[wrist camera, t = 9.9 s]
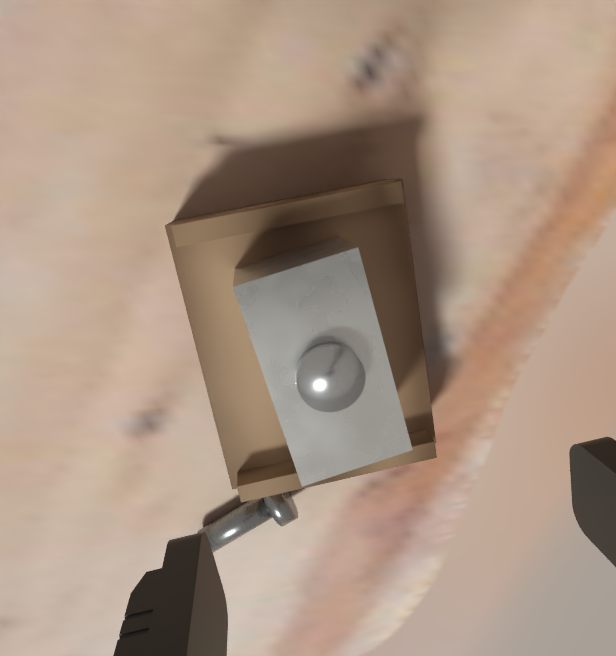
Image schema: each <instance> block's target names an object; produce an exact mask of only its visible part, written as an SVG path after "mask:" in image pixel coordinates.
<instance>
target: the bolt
mask: <svg viewBox="0 0 616 656" xmlns="http://www.w3.org/2000/svg"><path fill="white" fill-rule="evenodd" d="M272 517H273V518H274V520H275V521H276V522H277V523H278V524H279V525H280V526H284V525H286V524H288V523H290V522H291V521H293V520H295V519H296V518H298V512H297V508H296V506H295V503H294V501H293V499H292V497H291V495H290V493H289V492H285V493H281V494H276V495H272V496H268V497H263V498H259V499H255V500H250V501H248V502H246V503H244V504H242V505H241V506H239V507H237V508H236V509H234V510H232V511H231V512H229V513H227V514H226V515H224V516H222V517H221V518H219V519H217V520H215V521H214V522H212V523H210V524H209V525H207V526H205V527H204V528H202V529H200V530H199V531H198V533H202V532H205V533H206V535H207V537H208V539H209V543H210V546H211V549H212V553H213V552H215V551H216V550H218V549H220V548H221V547H223V546H225V545H227V544H228V543H230V542H232V541H233V540H235V539H237V538H238V537H240V536H242V535H244V534H245V533H247V532H249V531H250V530H252V529H254V528H255V527H257V526H259V525H261V524H262V523H264V522H266V521H267V520H269V519H271V518H272ZM198 533H197V534H198Z"/></svg>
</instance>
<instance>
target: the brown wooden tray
mask: <svg viewBox="0 0 616 656" xmlns="http://www.w3.org/2000/svg"><path fill="white" fill-rule="evenodd" d="M165 228H166V232H167V236H168V240H169V244H170V248H171V251H172V255H173V259H174V263H175V267H176V271H177V275H178V279H179V283H180V287H181V290H182V294H183V298H184V302H185V306H186V310H187V314H188V318H189V322H190V326H191V330H192V333H193V337H194V341H195V345H196V349H197V353H198V357H199V361H200V365H201V369H202V372H203V376H204V380H205V384H206V388H207V392H208V396H209V400H210V404H211V408H212V411H213V415H214V419H215V423H216V427H217V431H218V435H219V439H220V443H221V447H222V451H223V454H224V458H225V462H226V466H227V470H228V474H229V478H230V482H231V486H232V489H236V488H237V489H238V492H239V496H240V500H241V503H242V502H246V501H250V500H255V499H259V498H263V497H268V496H272V495H276V494H281V493H285V492H289V491H294V490H298V489H302V488H307V487H311V486H315V485H320V484H324V483H328V482H333V481H337V480H342V479H346V478H350V477H355V476H359V475H363V474H368V473H372V472H376V471H381V470H385V469H389V468H394V467H398V466H402V465H407V464H411V463H415V462H420V461H424V460H428V459H433V458H437V456H436V448H435V443H436V439H435V431H434V424H433V416H432V408H431V400H430V392H429V385H428V377H427V369H426V361H425V354H424V346H423V338H422V330H421V322H420V315H419V307H418V299H417V291H416V283H415V276H414V268H413V260H412V252H411V245H410V237H409V229H408V221H407V213H406V206H405V198H404V190H403V182H402V179H397V180H383V181H378V182H372V183H367V184H362V185H357V186H352V187H347V188H342V189H336V190H331V191H326V192H321V193H316V194H311V195H306V196H300V197H295V198H290V199H285V200H280V201H275V202H270V203H264V204H259V205H254V206H249V207H244V208H239V209H233V210H228V211H223V212H218V213H213V214H208V215H203V216H197V217H192V218H187V219H182V220H177V221H172V222H170V223H169V224H167V225H165ZM336 236H339V237H341V238H342V239H344V240H346V241H348V242H350V243H351V244H353V245H355V246H357V247H358V248H359V252H360V256H361V259H362V263H363V267H364V271H365V274H366V278H367V282H368V286H369V289H370V293H371V297H372V300H373V304H374V308H375V312H376V315H377V319H378V323H379V326H380V330H381V334H382V338H383V341H384V345H385V349H386V353H387V356H388V360H389V364H390V367H391V371H392V375H393V379H394V382H395V386H396V390H397V393H398V397H399V401H400V405H401V408H402V412H403V416H404V420H405V423H406V427H407V431H408V434H409V438H410V442H411V446H412V449H413V450H411V451H408V452H405V453H402V454H399V455H396V456H393V457H390V458H387V459H384V460H381V461H378V462H375V463H372V464H369V465H366V466H363V467H360V468H357V469H354V470H351V471H348V472H345V473H342V474H339V475H336V476H333V477H330V478H327V479H324V480H321V481H318V482H315V483H312V484H309V485H306V486H303V487H302V485H301V483H300V480H299V477H298V474H297V471H296V468H295V465H294V462H293V459H292V457H291V454H290V451H289V448H288V445H287V442H286V439H285V436H284V433H283V431H282V428H281V425H280V422H279V419H278V416H277V413H276V410H275V407H274V405H273V402H272V399H271V396H270V393H269V390H268V387H267V384H266V381H265V379H264V376H263V373H262V370H261V367H260V364H259V361H258V358H257V355H256V353H255V350H254V347H253V344H252V341H251V338H250V335H249V332H248V329H247V327H246V324H245V321H244V318H243V315H242V312H241V309H240V306H239V303H238V301H237V298H236V295H235V292H234V289H233V280H234V269H235V268H238V267H241V266H244V265H247V264H250V263H254V262H257V261H260V260H263V259H266V258H269V257H273V256H276V255H279V254H282V253H285V252H288V251H292V250H295V249H298V248H301V247H304V246H307V245H311V244H314V243H317V242H320V241H323V240H326V239H330V238H333V237H336Z"/></svg>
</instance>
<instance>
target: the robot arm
mask: <svg viewBox="0 0 616 656" xmlns="http://www.w3.org/2000/svg"><path fill="white" fill-rule="evenodd" d="M570 472H571V489H572V504H573V511H574V514H575V517H576V520H577V522H578V524H579V526H580V528H581V529H582V531H583V532H584V534H585V535H586V536H587V537H588V538H589V539H590V541H591V542H592V543H593V544H594V545H595V546H596V547H597V548H598V549H599V550H600V551H601V552H602V553H603V554H604V555H605V556H606V557H607V558H608V559H609V560H610V561H611V563H612V564H613V565H614V566H615V567H616V441H615V440H614V439H612V438H610V437H604V438H600V439H596V440H592V441H587V442H583V443H579V444H575V445H573V446H572V447H571V449H570ZM227 631H228V615H227V605H226V599H225V594H224V590H223V586H222V583H221V580H220V576H219V573H218V570H217V566H216V563H215V559H214V556H213V553H212V549H211V546H210V543H209V539H208V537H207V535H206V533H205V532H202V533H198V534H194V535H189V536H185V537H181V538H177V539H173V540H169V542H168V544H167V548H166V553H165V557H164V562H163V566H162V568H161V569H157V570H153V571H149V572H146V573H145V575H144V576H143V577H142V579H141V580H140V582H139V583H138V584H137V586H136V587H135V589H134V590H133V591H132V593H131V595H130V598H129V602H128V606H127V609H126V613H125V620H124V621H123V624H122V627H121V631H120V634H119V636H120V640H118V641H117V645H116V649H115V652H114V656H226V655H227Z"/></svg>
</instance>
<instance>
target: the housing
mask: <svg viewBox="0 0 616 656" xmlns="http://www.w3.org/2000/svg"><path fill="white" fill-rule="evenodd" d="M233 289H234V292H235V295H236V298H237V301H238V303H239V306H240V309H241V312H242V315H243V318H244V321H245V324H246V327H247V329H248V332H249V335H250V338H251V341H252V344H253V347H254V350H255V353H256V355H257V358H258V361H259V364H260V367H261V370H262V373H263V376H264V379H265V381H266V384H267V387H268V390H269V393H270V396H271V399H272V402H273V405H274V407H275V410H276V413H277V416H278V419H279V422H280V425H281V428H282V431H283V433H284V436H285V439H286V442H287V445H288V448H289V451H290V454H291V457H292V459H293V462H294V465H295V468H296V471H297V474H298V477H299V480H300V483H301V485H302V487H303V486H306V485H309V484H312V483H315V482H318V481H321V480H324V479H327V478H330V477H333V476H336V475H339V474H342V473H345V472H348V471H351V470H354V469H357V468H360V467H363V466H366V465H369V464H372V463H375V462H378V461H381V460H384V459H387V458H390V457H393V456H396V455H399V454H402V453H405V452H408V451H411V450H413V449H412V446H411V442H410V438H409V434H408V431H407V427H406V423H405V420H404V416H403V412H402V408H401V405H400V401H399V397H398V393H397V390H396V386H395V382H394V379H393V375H392V371H391V367H390V364H389V360H388V356H387V353H386V349H385V345H384V341H383V338H382V334H381V330H380V326H379V323H378V319H377V315H376V312H375V308H374V304H373V300H372V297H371V293H370V289H369V286H368V282H367V278H366V274H365V271H364V267H363V263H362V259H361V256H360V252H359V248H358V247H357V246H355V245H353V244H351V243H350V242H348V241H346V240H344V239H342V238H341V237H339V236H336V237H333V238H330V239H326V240H323V241H320V242H317V243H314V244H311V245H307V246H304V247H301V248H298V249H295V250H292V251H288V252H285V253H282V254H279V255H276V256H273V257H269V258H266V259H263V260H260V261H257V262H254V263H250V264H247V265H244V266H241V267H238V268H235V269H234V280H233Z"/></svg>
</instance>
